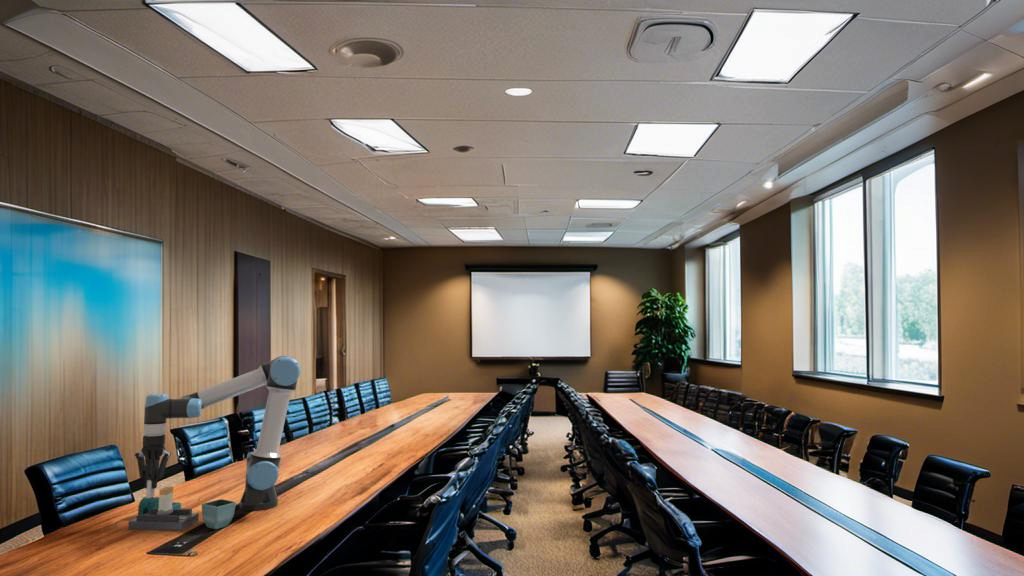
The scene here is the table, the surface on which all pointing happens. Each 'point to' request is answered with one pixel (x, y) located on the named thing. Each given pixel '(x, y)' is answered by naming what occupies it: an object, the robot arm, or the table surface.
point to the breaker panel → (164, 523)
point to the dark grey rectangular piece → (164, 517)
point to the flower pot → (218, 513)
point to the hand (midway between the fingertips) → (150, 497)
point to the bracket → (152, 505)
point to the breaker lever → (165, 501)
